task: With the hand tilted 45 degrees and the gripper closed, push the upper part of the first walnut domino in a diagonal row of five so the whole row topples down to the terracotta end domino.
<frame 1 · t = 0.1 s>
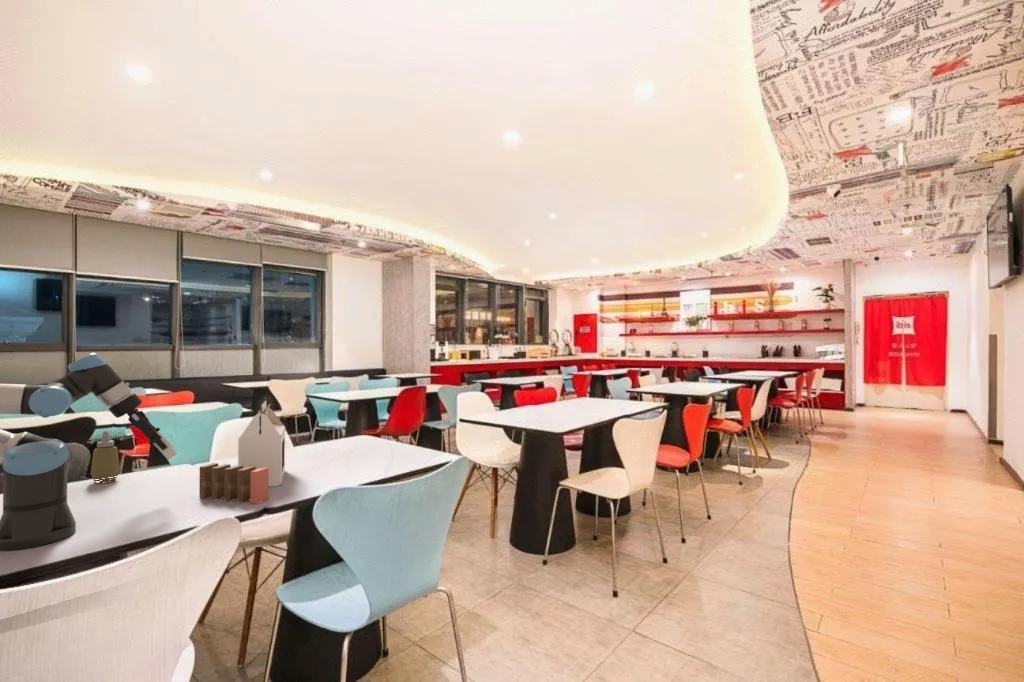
hand: (170, 453, 152), 15 cm above the table, tool tilted 35°, fingers open, 13 cm apart
domino 2: (221, 497, 157), on the table
domino 4: (246, 499, 154), on the table
gable box: (263, 480, 177), on the table
squeeze bottle: (105, 482, 174), on the table
domino 5: (259, 501, 153), on the table
domino 3: (233, 498, 155), on the table
domino 1: (208, 495, 158), on the table
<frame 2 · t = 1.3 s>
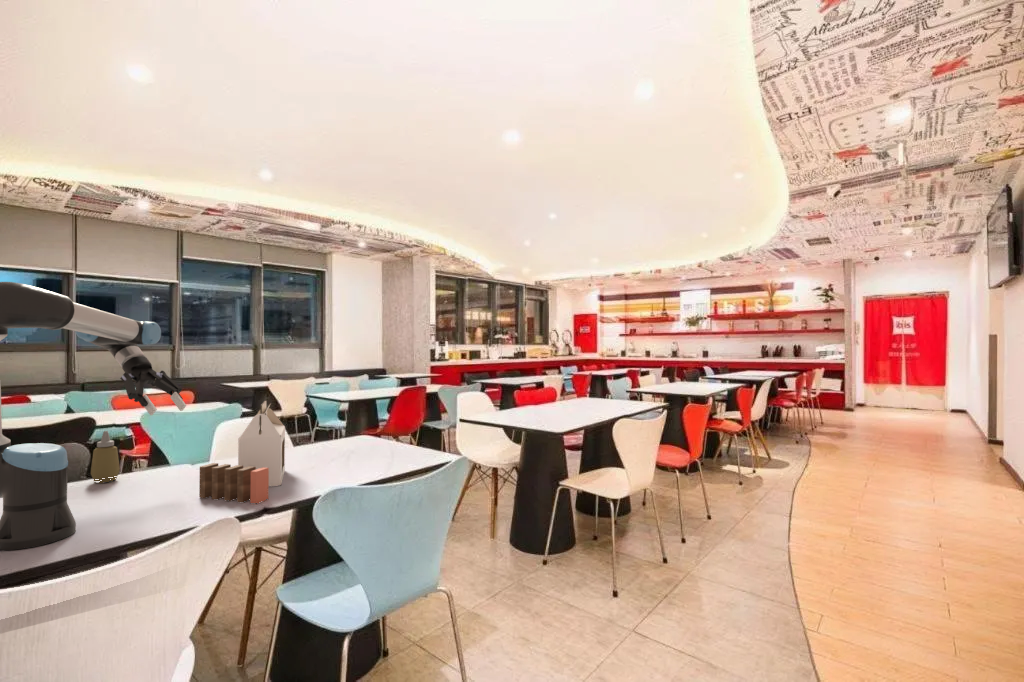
hand: (169, 410, 163), 27 cm above the table, tool tilted 45°, fingers open, 10 cm apart
nothing on the table moved.
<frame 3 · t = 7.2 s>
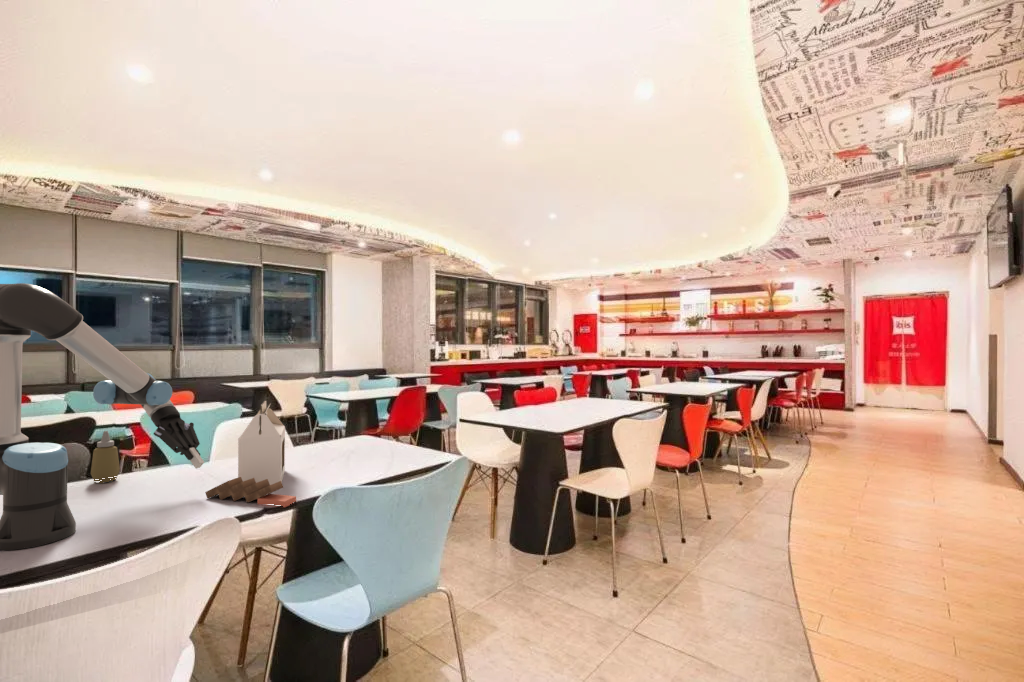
hand: (200, 465, 159), 10 cm above the table, tool tilted 45°, fingers closed
domino 2: (225, 494, 156), point 1 cm above the table, tilted 64°, touching domino 1, domino 3
domino 4: (251, 497, 154), point 1 cm above the table, tilted 66°, touching domino 3
domino 5: (263, 499, 152), point 1 cm above the table, tilted 90°
domino 3: (238, 495, 155), point 1 cm above the table, tilted 64°, touching domino 2, domino 4
domino 1: (212, 493, 158), point 1 cm above the table, tilted 64°, touching domino 2
everything else where it was.
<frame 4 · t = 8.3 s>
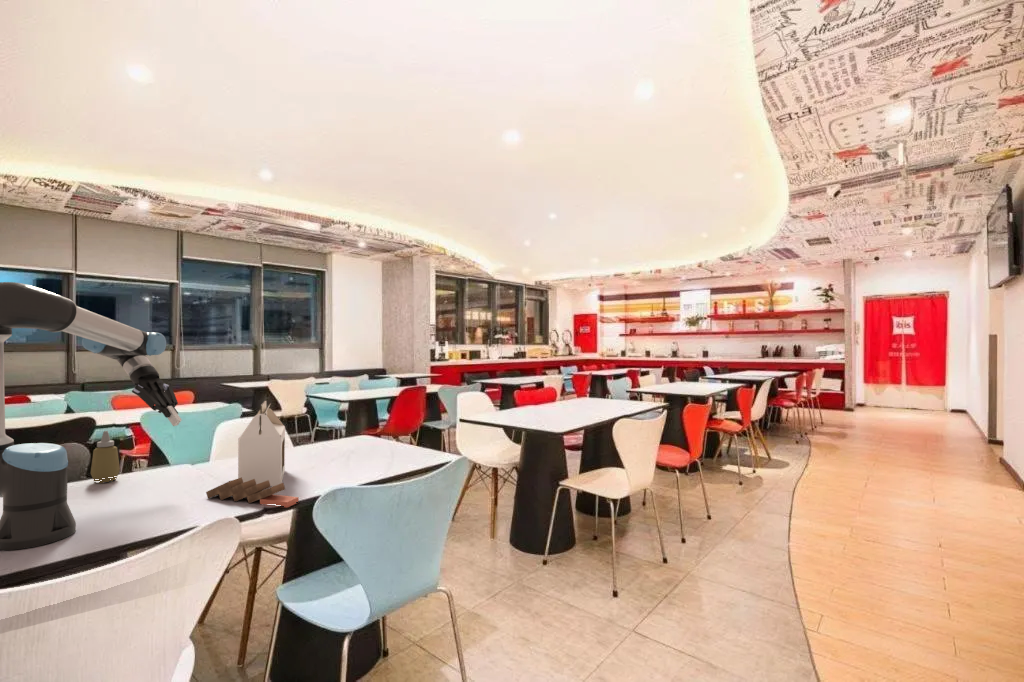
hand: (177, 423, 163), 23 cm above the table, tool tilted 45°, fingers closed
domino 2: (226, 494, 156), point 1 cm above the table, tilted 66°, touching domino 1, domino 3
domino 4: (254, 497, 153), point 1 cm above the table, tilted 68°, touching domino 3
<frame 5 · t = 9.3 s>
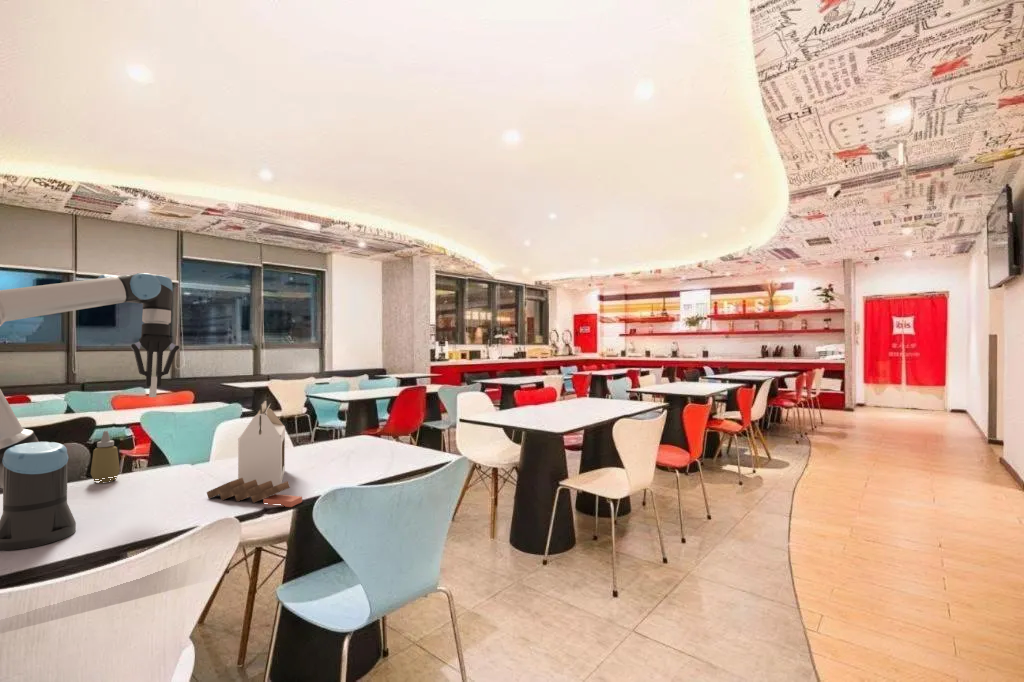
hand: (152, 396, 156), 32 cm above the table, tool pointing down, fingers closed
domino 4: (257, 497, 153), point 1 cm above the table, tilted 67°, touching domino 3
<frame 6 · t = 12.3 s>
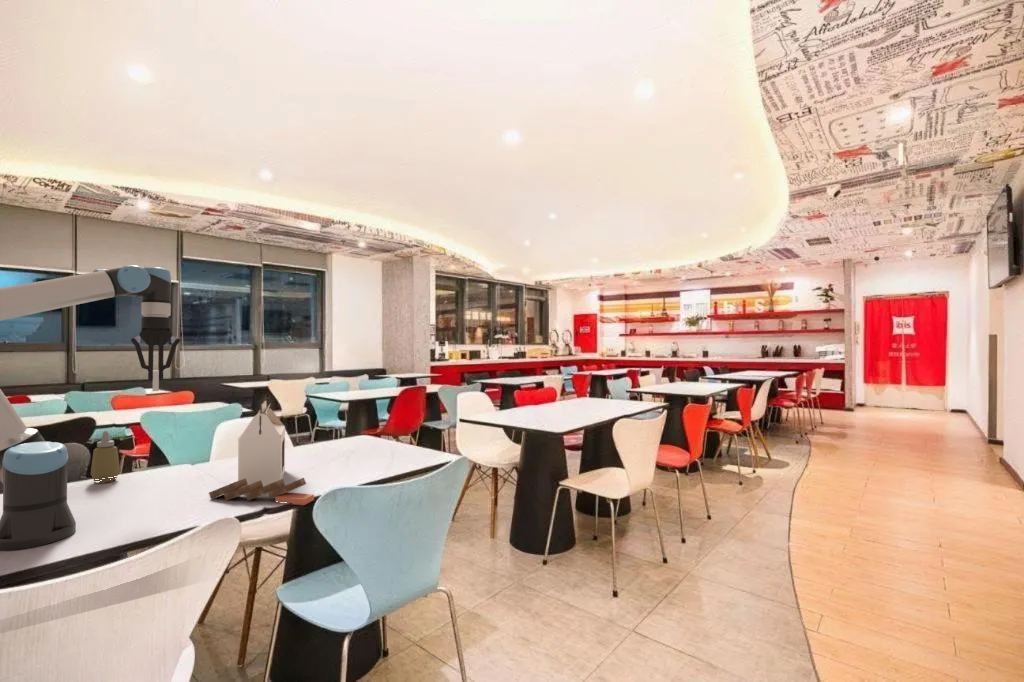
hand: (155, 390, 155), 34 cm above the table, tool pointing down, fingers closed
domino 2: (230, 495, 156), point 1 cm above the table, tilted 69°, touching domino 1, domino 3
domino 4: (271, 494, 154), point 2 cm above the table, tilted 69°, touching domino 3
domino 5: (280, 498, 154), point 1 cm above the table, tilted 90°
domino 3: (250, 495, 154), point 1 cm above the table, tilted 68°, touching domino 2, domino 4
domino 1: (216, 493, 157), point 1 cm above the table, tilted 68°, touching domino 2
everything else where it was.
at the end: domino 5 tilted 90°; domino 3 tilted 68° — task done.
